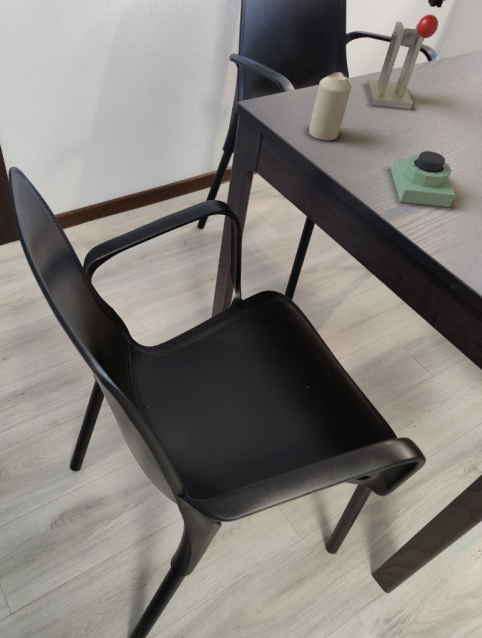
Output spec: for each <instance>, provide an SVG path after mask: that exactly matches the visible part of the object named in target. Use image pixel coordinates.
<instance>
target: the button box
mask: <svg viewBox="0 0 482 638" xmlns="http://www.w3.org/2000/svg"><path fill="white" fill-rule="evenodd" d="M419 155H420V153H419V154H414V155H410V156H408V158H407V159H406V158H397V157H395V158H394V159H393V163H392V166H391V168H390V172H391V176H392V180H393V183H394V186H395V189H396V193H397V196H398V199H399V202H400V203H404V204H415V205H425V206H434V207H443V208H450V207H451V205H452V203H453V201H454V199H456V198H455V197H456V192H455V190H454V188H453V184H452V183H451V181H450V178H449V177H450V175H451V173H452V169H451V166H450V163H447V162H446V161H445V162H444V165H443V167H442V169H441V171H440V172H438V173H430V172H426V171H423V170H420V169H419V168H418V167H416V162H417V160H418V157H419Z"/></svg>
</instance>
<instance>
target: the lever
mask: <svg viewBox="0 0 482 638" xmlns="http://www.w3.org/2000/svg"><path fill="white" fill-rule="evenodd" d="M417 24H418V25H417ZM417 24H416V26H417V28H416V27H415V28H407V27H405V32H404V35H403V38H402V41H401V45H400V47H409V46H411V45H413V44H414V42H415V38H416V37H418V36H420V37H422V38H424V39H429V38H431V37H432V36H433V35H435V33H436V32H437V30H438V29H439V20H438V18H437V17H436V15H434V14H426V15H424V16H422V18H420V19H419V21H418V23H417Z"/></svg>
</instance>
